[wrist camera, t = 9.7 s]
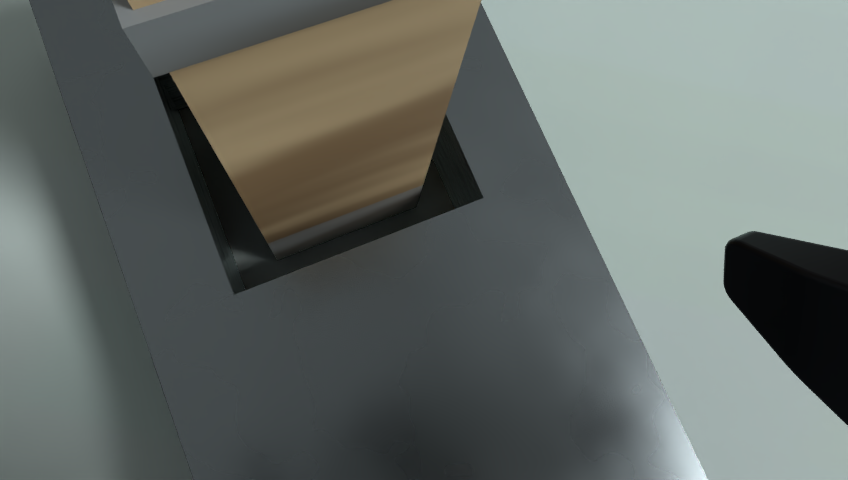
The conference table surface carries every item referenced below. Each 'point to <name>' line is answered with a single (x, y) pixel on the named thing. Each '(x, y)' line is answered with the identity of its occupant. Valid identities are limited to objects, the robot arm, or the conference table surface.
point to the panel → (374, 300)
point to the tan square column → (311, 100)
